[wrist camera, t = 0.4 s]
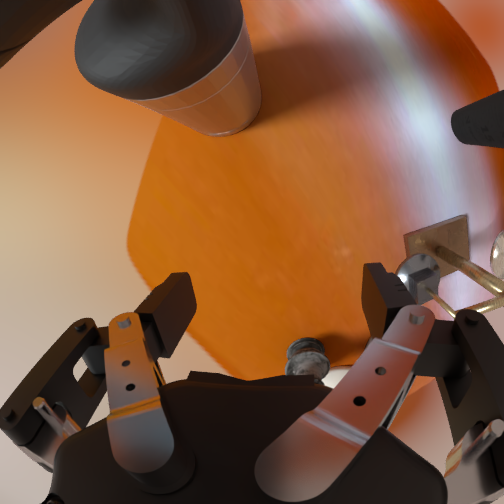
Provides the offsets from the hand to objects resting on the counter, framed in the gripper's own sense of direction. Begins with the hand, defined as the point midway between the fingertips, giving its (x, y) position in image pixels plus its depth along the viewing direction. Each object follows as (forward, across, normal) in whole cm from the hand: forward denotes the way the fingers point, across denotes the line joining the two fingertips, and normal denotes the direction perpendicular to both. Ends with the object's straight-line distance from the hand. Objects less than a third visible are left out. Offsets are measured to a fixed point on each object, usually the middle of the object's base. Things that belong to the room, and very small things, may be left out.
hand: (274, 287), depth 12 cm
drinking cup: (+22, -25, -9) cm, 35 cm away
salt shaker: (+18, -1, +21) cm, 27 cm away
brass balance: (+20, -20, +8) cm, 29 cm away
